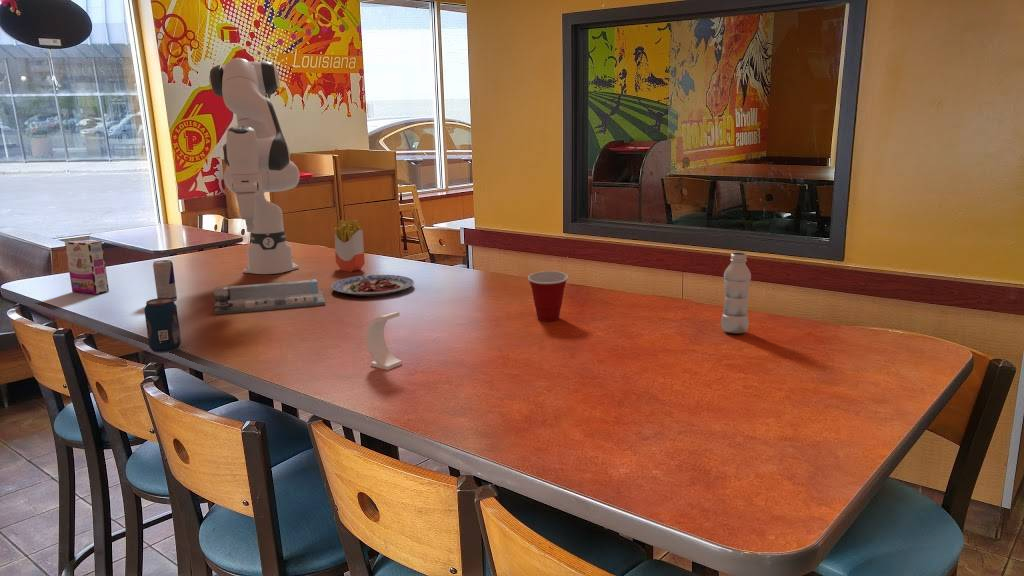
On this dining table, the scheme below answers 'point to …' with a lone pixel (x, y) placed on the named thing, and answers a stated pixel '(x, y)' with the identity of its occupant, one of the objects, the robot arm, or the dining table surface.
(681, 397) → the dining table surface
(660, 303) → the dining table surface
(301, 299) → the double power outlet
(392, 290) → the ceramic plate
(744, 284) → the plastic bottle
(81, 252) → the candy bar box
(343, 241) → the french fries container
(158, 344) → the soda can
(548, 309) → the plastic cup
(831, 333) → the dining table surface
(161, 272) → the energy drink
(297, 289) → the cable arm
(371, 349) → the headphone stand
